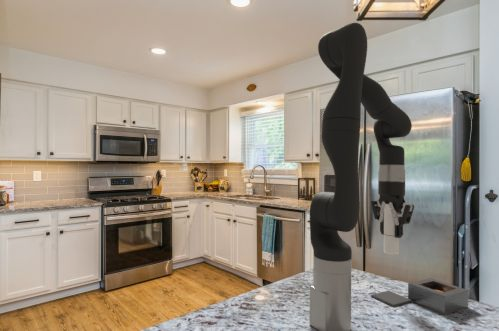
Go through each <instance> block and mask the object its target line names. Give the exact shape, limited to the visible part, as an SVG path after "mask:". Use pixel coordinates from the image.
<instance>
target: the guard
mask: <svg viewBox="0 0 499 331" xmlns="http://www.w3.org/2000/svg"><path fill="white" fill-rule="evenodd" d="M407 285H408V286H407V295H408V296H407V298H408V299H411V300H412V302H413V303H415V304H417V305H419V306H422V307H425V308H427V309H430V310H432V311H435V312H437V313H440V314H441V315H444V316H446V315H450V314H451V313H454V312H459V311H461V310H464V309H467V308H469V290H468V289H466V288H463V287H460V286H456V285H453V284H451V283H447V282H444V281H441V280H439V279H435V278H431V277H429V278H426V279H421V280H417V281H412V282H408V283H407ZM436 290H439V291H443V293H442V292H439V291H436ZM412 302H411V303H412Z"/></svg>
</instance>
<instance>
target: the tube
mask: <svg viewBox="0 0 499 331" xmlns="http://www.w3.org/2000/svg"><path fill="white" fill-rule="evenodd" d="M397 214H399V213H397ZM395 225H396V224H395V220H394V218H393V216H392V212H391V208H390V207H389V204H385V208H384V235H383V253H384V254H385V255H391V256H398V255H400V238H396V237H395Z"/></svg>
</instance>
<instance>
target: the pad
mask: <svg viewBox="0 0 499 331" xmlns="http://www.w3.org/2000/svg"><path fill="white" fill-rule="evenodd" d="M370 297H371V298H373V299H375V300H378V301H380V302H382V303H384V304H386V305H389V306H391V307H392V308H394V307H397V306H402V305H406V304H409V303H412V300H411V299H408V297H405V296H403V295H402V294H401V295H400V294H398V293H397V292H393V291H391V290H386V291H382V292H381V291H380V292H377V293H373V294H372V293H371V294H370Z"/></svg>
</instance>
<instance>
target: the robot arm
mask: <svg viewBox="0 0 499 331" xmlns="http://www.w3.org/2000/svg"><path fill="white" fill-rule="evenodd" d="M317 51H318V52H317V53H318V55H319V58H320V59H321V61H322V62H323V64H324V65H325V66H326V68H327V69H328V70H329V71H330V72H331V73H332V74H333V75H334V76H336V78H337V79H338V80H339V81H338V83H337V86H336V87H335V89H334V91H333V93H332V95H331V97H330V98H329V100H328V102H327V104H326V106H325V109H324V111H323V114H322V120H321V121H322V124H321V143H322V146H323V149H324V150H325V152H326V155H327V157H328V159H329V162H330V163H331V165H332V168H333V173H334V192H333V191H321V192H317V193H316V194H315V195H314V196H313V197H312V200H311V202H310V208H309V232H310V233H309V234H310V238H309V239H310V244H311V247H312V250H313V260H312V261H313V266H312V267H313V270H312V275H313V276H312V285H310V287H309V325H310V326H312V327H313V328H314V329H316V330H317V331H351V329H352V264H353V263H352V259H353V258H352V257H353V256H352V254H353V253H352V247H351V246H350V245H349V244H348V243H347V242H346V241H345V240H344V239H343V238H342V237H341V236H340V235H339V233H338V232H343V233H349V232H351V231H353V230H354V229H355V228H356V226H357V224H358V221H359V218H360V208H361V206H360V204H361V203H360V187H359V186H360V184H359V154H360V153H359V150H360V137H361V136H360V134H361V120H362V119H361V118H362V117H361V114H362V112H361V110H362V108H361V106H363V108H364V109H365V111H366V112H367V114H368V115H369V116H370V118H372V119H373V120H375V121H374V123H373V133H374V137H375V140H376V144H377V147H378V152H379V153H378V154H379V158H378V159H379V160H378V161H379V164H378V165H379V166H378V167H379V168H378V173H377V174H378V178H377V179H378V180H377V181H378V184H377V186H378V188H377V190H378V191H377V193H378V196H379V198H378V199H377V200H372V201H370V203H371V208H372V214H373V217H374V219H375V220H377V221H379V231H380V234H381V235H383V236H384V208H385V204H389V207H390V208H391V212H392V216H393V218H394V220H395V224H396V225H395V237H396V238H399V239H400V238H402V237H403V235H404V225H409V224H410V222H411V219H412V216H413V212H414V210H415V205H414V204H409V203H407V202H406V200H405V196H406V169H405V148H404V147H403V146H401V145H397V144H392V142H391V140H390V139H395V138H396V139H397V138H404V137H407V136H408V135H409V134H410V133H411V130H412V126H413V125H412V121H411V118H410V117H409V116H408V114H407V113H406V112H405V111H404V110H402V109H401V108H400V107H399V106H397V104H395V103H394V102H392V100H391V98H390V97H389V95H388V92H386V90H385V88H384V87H383V86H382V85H381V84H380V83H379V82H377V81H376V80H374V79H373V78H371V77H369V76H368V75H365V68H366V63H367V54H368V37H367V33H366V30H365V28H364V26H363V25H362V24H361V23H358V22H352V23H348V24H345V25H343V26H341V27H338V28H336V29H333V30H331V31H329V32H327V33H325V34H323V35H322V36H321V37H320V39H319V42H318V45H317ZM397 213H399V214H397Z"/></svg>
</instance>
